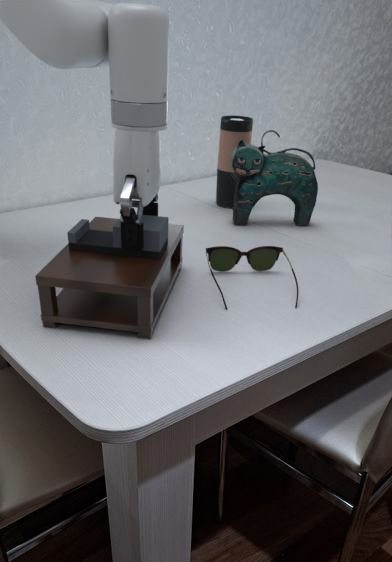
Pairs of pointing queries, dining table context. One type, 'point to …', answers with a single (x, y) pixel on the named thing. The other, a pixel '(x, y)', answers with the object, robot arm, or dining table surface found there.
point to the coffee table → (109, 285)
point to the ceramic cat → (273, 180)
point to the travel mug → (230, 155)
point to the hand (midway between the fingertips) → (140, 237)
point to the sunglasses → (256, 257)
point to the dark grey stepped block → (111, 241)
